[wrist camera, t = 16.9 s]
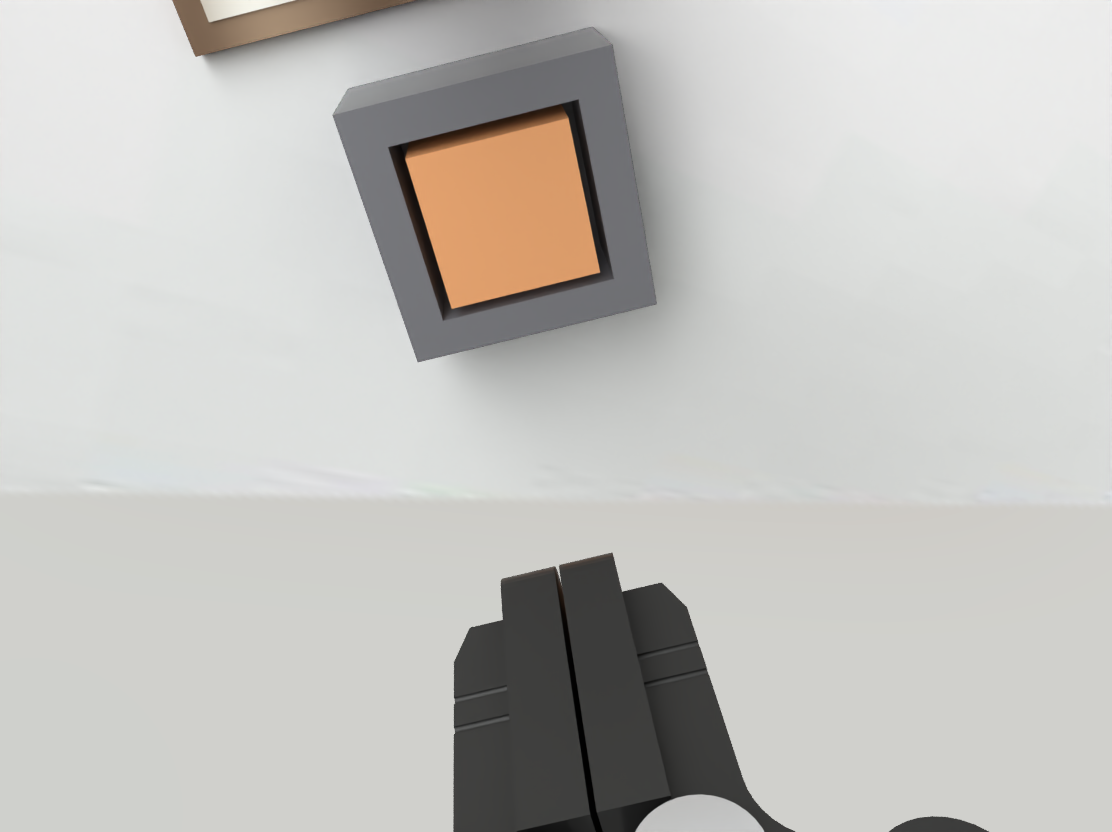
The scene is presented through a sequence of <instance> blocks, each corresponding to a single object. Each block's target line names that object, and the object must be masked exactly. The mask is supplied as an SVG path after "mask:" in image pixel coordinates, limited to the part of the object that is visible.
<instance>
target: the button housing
mask: <svg viewBox="0 0 1112 832" xmlns="http://www.w3.org/2000/svg"><path fill="white" fill-rule="evenodd" d="M558 104H561V105H562V107H563V109H564V111H565V112H566V114H567V116H568V118H569V123H570V128H571V133H572V138H573V143H574V148H575V152H576V157H577V162H578V167H579V172H580V177H581V182H582V187H583V191H584V196H585V201H586V206H587V211H588V216H589V221H590V225H591V230H592V235H593V240H594V245H595V250H596V255H597V260H598V264H599V269H600V273H596V274H592V275H588V276H584V277H580V278H576V279H572V280H568V281H563V282H559V283H555V284H551V285H547V286H543V287H539V288H535V289H531V290H527V291H523V292H519V293H514V294H510V295H506V296H502V297H498V298H494V299H490V300H486V301H482V302H478V303H474V304H470V305H466V306H461V307H457V308H453V309H452V308H451V305H450V302H449V298H448V295H447V292H446V289H445V285H444V282H443V279H442V276H441V273H440V269H439V266H438V263H437V260H436V256H435V253H434V250H433V247H432V243H431V240H430V237H429V234H428V231H427V227H426V224H425V221H424V218H423V214H422V211H421V208H420V205H419V201H418V198H417V195H416V192H415V189H414V185H413V182H412V179H411V176H410V172H409V169H408V166H407V163H406V159H405V158H406V153H407V148H408V144H409V142H411V141H415V140H418V139H422V138H426V137H430V136H434V135H438V134H442V133H446V132H450V131H454V130H458V129H462V128H466V127H470V126H474V125H478V124H482V123H486V122H490V121H494V120H498V119H502V118H506V117H510V116H514V115H518V114H522V113H526V112H530V111H534V110H538V109H542V108H546V107H550V106H554V105H558ZM333 118H334V120H335V123H336V126H337V129H338V132H339V135H340V138H341V141H342V144H343V147H344V149H345V152H346V155H347V158H348V161H349V164H350V167H351V170H352V173H353V176H354V178H355V181H356V184H357V187H358V190H359V193H360V196H361V199H362V202H363V205H364V207H365V210H366V213H367V216H368V219H369V222H370V225H371V228H372V231H373V234H374V236H375V239H376V242H377V245H378V248H379V251H380V254H381V257H382V260H383V263H384V265H385V268H386V271H387V274H388V277H389V280H390V283H391V286H392V289H393V292H394V294H395V297H396V300H397V303H398V306H399V309H400V312H401V315H402V318H403V321H404V324H405V326H406V329H407V332H408V335H409V338H410V341H411V344H412V347H413V350H414V353H415V355H416V358H417V361H418V362H421V361H425V360H429V359H433V358H438V357H442V356H446V355H450V354H454V353H458V352H462V351H466V350H470V349H475V348H479V347H483V346H487V345H491V344H495V343H499V342H503V341H507V340H512V339H516V338H520V337H524V336H528V335H532V334H536V333H540V332H544V331H548V330H553V329H557V328H561V327H565V326H569V325H573V324H577V323H581V322H585V321H590V320H594V319H598V318H602V317H606V316H610V315H614V314H618V313H622V312H626V311H631V310H635V309H639V308H643V307H647V306H651V305H655V304H657V302H656V297H655V291H654V285H653V279H652V273H651V267H650V262H649V256H648V250H647V244H646V238H645V232H644V227H643V221H642V215H641V209H640V203H639V198H638V192H637V186H636V180H635V174H634V168H633V163H632V157H631V151H630V145H629V139H628V134H627V128H626V122H625V116H624V110H623V104H622V99H621V93H620V87H619V81H618V75H617V69H616V64H615V58H614V52H613V46H612V44H611V43H610V42H609V41H608V40H607V39H606V38H605V37H603V36H602V35H601V34H600V33H599V32H598V31H597V30H596V29H595V28H594V27H590V28H586V29H582V30H578V31H574V32H570V33H566V34H562V35H558V36H554V37H550V38H547V39H543V40H539V41H535V42H531V43H527V44H523V45H519V46H515V47H511V48H507V49H503V50H499V51H495V52H491V53H487V54H483V55H479V56H475V57H472V58H468V59H464V60H460V61H456V62H452V63H448V64H444V65H440V66H436V67H432V68H428V69H424V70H420V71H416V72H412V73H408V74H404V75H400V76H396V77H393V78H389V79H385V80H381V81H377V82H373V83H369V84H365V85H361V86H357V87H353V88H349V89H348V90H347V92H346V93H345V95H344V97H343V98H342V100H341V102H340V103H339V105H338V107H337V108H336V110H335V112H334V114H333Z"/></svg>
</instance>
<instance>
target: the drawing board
mask: <svg viewBox="0 0 1112 832" xmlns="http://www.w3.org/2000/svg"><path fill="white" fill-rule="evenodd" d="M172 1H173V3H174V6H175V8H176V10H177V13H178V15H179V18H180V20H181V23H182V25H183V27H184V30H185V32H186V35H187V37H188V40H189V42H190V44H191V47H192V49H193V52H194V54H195V57H197V56H201V55H205V54H209V53H212V52H216V51H220V50H224V49H228V48H232V47H236V46H240V45H244V44H248V43H252V42H256V41H259V40H263V39H267V38H271V37H275V36H279V35H283V34H287V33H291V32H295V31H299V30H302V29H306V28H310V27H314V26H318V25H322V24H326V23H330V22H334V21H338V20H342V19H346V18H349V17H353V16H357V15H361V14H365V13H369V12H373V11H377V10H381V9H385V8H389V7H392V6H396V5H400V4H404V3H408V2H412V1H416V0H172Z"/></svg>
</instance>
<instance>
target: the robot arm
mask: <svg viewBox="0 0 1112 832" xmlns="http://www.w3.org/2000/svg"><path fill="white" fill-rule="evenodd" d="M559 569H560V576H561V582H560V578H559V575H558V572H557V569H556V567H550V568H546V569H542V570H537V571H534V572H529V573H525V574H521V575H517V576H512V577H508V578H504V579H502V580H501V598H502V613H503V620H501V621H497V622H493V623H489V624H484V625H480V626H476V627H471V628H470V629H469V631H468V633H467V635H466V638H465V640H464V642H463V644H462V646H461V648H460V651H459V653H458V655H457V657H456V659H455V662H454V698H455V704H454V728H455V734H454V832H795V831H793V830H791V829H788V828H786V827H784V826H783V825H781V824H780V823H778V822H777V821H775V820H774V819H772V818H771V817H770V816H769V815H768V814H767V813H765V812H764V811H763V810H762V809H761V808H760V806H758V804H757V803H756V802H755V801H754V799H753V798H752V796H751V794H750V793H749V791H748V790H747V787H746V785H745V783H744V780H743V778H742V775H741V771H740V768H739V766H738V762H737V759H736V756H735V753H734V750H733V747H732V744H731V741H730V738H729V735H728V732H727V729H726V726H725V723H724V720H723V716H722V713H721V710H720V707H719V704H718V701H717V698H716V695H715V692H714V689H713V686H712V683H711V680H710V677H709V675H708V672H707V668H706V664H705V662H704V658H703V655H702V652H701V649H700V647H699V644H698V640H697V637H696V634H695V631H694V628H693V625H692V622H691V619H690V615H689V613H688V609H687V607H686V606H685V605H684V604H683V603H682V602H681V601H680V600H679V599H678V598H677V597H676V596H675V595H674V594H673V593H672V592H671V591H670V590H669V589H668V588H667V587H666V586H664V584H662V583H658V584H654V585H649V586H645V587H641V588H636V589H632V590H628V591H624V592H622V590H621V586H620V582H619V578H618V574H617V569H616V565H615V561H614V557H613V553H609V554H604V555H600V556H596V557H592V558H587V559H583V560H579V561H575V562H570V563H566V564H562V565H560V566H559ZM561 583H562V585H561ZM889 832H988V831H986V830H984V829H982V828H980V827H978V826H976V825H974V824H971V823H968V822H965V821H962V820H958V819H953V818H948V817H933V816H932V817H923V818H917V819H913V820H910V821H907V822H904V823H902V824H900V825H898V826H896V827H895V828H893V829H892V830H891V831H889Z"/></svg>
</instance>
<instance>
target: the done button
mask: <svg viewBox="0 0 1112 832" xmlns="http://www.w3.org/2000/svg"><path fill="white" fill-rule="evenodd" d="M405 159H406V163H407V166H408V169H409V172H410V176H411V179H412V182H413V185H414V189H415V192H416V195H417V198H418V201H419V205H420V208H421V211H422V214H423V218H424V221H425V224H426V227H427V231H428V234H429V237H430V240H431V243H432V247H433V250H434V253H435V256H436V260H437V263H438V266H439V269H440V273H441V276H442V279H443V282H444V285H445V289H446V292H447V295H448V298H449V302H450V305H451V308H452V309H453V308H457V307H461V306H466V305H470V304H474V303H478V302H482V301H486V300H490V299H494V298H498V297H502V296H506V295H510V294H514V293H519V292H523V291H527V290H531V289H535V288H539V287H543V286H547V285H551V284H555V283H559V282H563V281H568V280H572V279H576V278H580V277H584V276H588V275H592V274H596V273H600V269H599V264H598V260H597V255H596V250H595V245H594V240H593V235H592V230H591V225H590V221H589V216H588V211H587V206H586V201H585V196H584V191H583V187H582V182H581V177H580V172H579V167H578V162H577V157H576V152H575V148H574V143H573V138H572V133H571V128H570V123H569V118H568V116H567V114H566V112H565V111H564V109H563V107H562V105H561V104H558V105H554V106H550V107H546V108H542V109H538V110H534V111H530V112H526V113H522V114H518V115H514V116H510V117H506V118H502V119H498V120H494V121H490V122H486V123H482V124H478V125H474V126H470V127H466V128H462V129H458V130H454V131H450V132H446V133H442V134H438V135H434V136H430V137H426V138H422V139H418V140H415V141H411V142H409V144H408V148H407V153H406V158H405Z"/></svg>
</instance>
